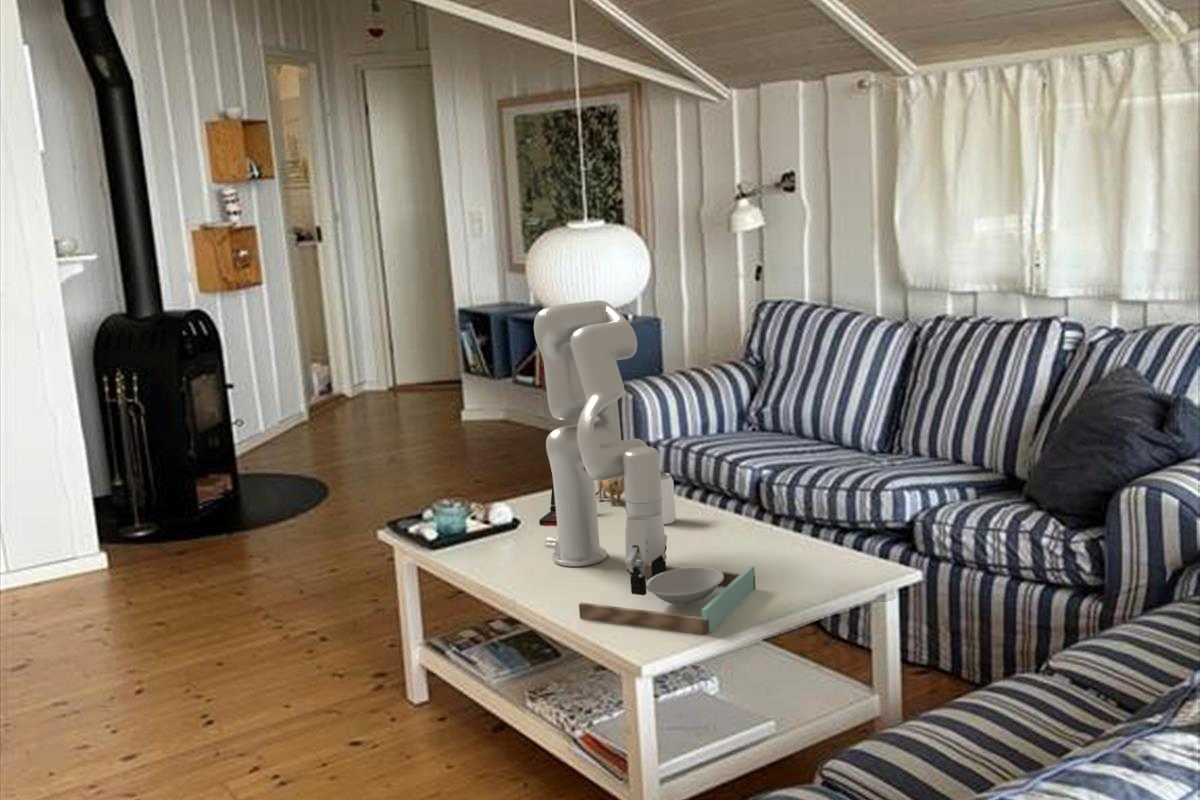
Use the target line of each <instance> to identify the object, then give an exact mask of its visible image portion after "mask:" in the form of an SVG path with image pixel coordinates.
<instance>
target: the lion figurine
mask: <svg viewBox="0 0 1200 800" xmlns="http://www.w3.org/2000/svg"><path fill="white" fill-rule="evenodd" d="M597 486H598V490H597V492H596V496H598V502H600V503H601V502H603V498H607V497H608V495H607V494H606V493H608V494H609V499H610V506H611V507H616V505H617V504H620V505H621V504H623V501H622V500H621V496H622V494H624V492H625V485H624V477H620V478H615V479H610V480H604V481H597ZM615 496H616V501H615ZM616 503H617V504H616Z"/></svg>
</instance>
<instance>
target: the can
mask: <svg viewBox="0 0 1200 800" xmlns="http://www.w3.org/2000/svg"><path fill="white" fill-rule="evenodd" d="M660 474H661V490H662V506H663V514H662V518H663V524H664V526H667V524H668V525H671V524H670V523H672V524H674V523H675V522H676V520H677V519H676V518H677V517H676V514H677V513H676V501H675V500H676V499H675V498H676V497H675V487H674V486H675V485H674V479H673V477H672V474H671V473H670V472H669V473H668V472H660ZM674 521H675V522H674ZM673 522H674V523H673Z"/></svg>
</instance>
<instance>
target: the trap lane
mask: <svg viewBox="0 0 1200 800" xmlns="http://www.w3.org/2000/svg"><path fill="white" fill-rule="evenodd" d="M636 567H637V568H638V569H639V571H640V567H641V566H637V565H636ZM678 568H682V567H679V566H669V565H666V571H669V570H673V569H678ZM721 572H722V573H723V575H724V579H723V581H722V582H721V583H720V584H719V585H718V586H717V587H719V586H722V587H721V588H724V589H722V590H721V591H720V592H719V593H718V594H717V595H716V596H714V598H712V599H711V600H709V602H708V603H707V604H706V605H704V606H703V607H702V608H701V610H700V612H701V613H700V614H701V616H694V615H685V614H677V613H670V612H669V613H668V612H661V611H654V610H653V611H652V610H645V609H636V608H628V607H622V606H612V605H606V604H605V605H604V604H597V603H596V604H595V603H589V602H580V603H578V611H579V619H583V620H592V621H600V622H607V623H614V624H620V625H621V624H623V625H630V626H638V627H644V626H645V628H652V627H653V628H652V629H660V628H661V630H668V631H669V630H670V631H677V632H682V631H683V632H684V633H685V632H686V633H691V632H692V634H698V633H700V634H701V635H706V634H708V633H709V634H710V633H711V632H712V631H713V630H714V629H715V628H717V626H718V625H719V624H720V623H722V622H723V620H724V619H726V618H727V617H726V616H729V615H730V614H731V613H732V612H733V611H734V610H735V609H736V608H737V607H738V606H740V604H742V602H743V601H744V600H745V599H746V598H748V597H749V595H751V594H752V593H753V592H754V591H755V590H756V574H755V573H756V571H755V565H749V566H748V567H747V568H745V570H743V571H742V572H741V573H739V572H727V571H721ZM643 576H645V578H652V570H651V563H650V564H648V565H646V567H645V571H644V575H643ZM709 634H708V635H709Z"/></svg>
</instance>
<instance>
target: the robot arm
mask: <svg viewBox="0 0 1200 800" xmlns="http://www.w3.org/2000/svg"><path fill="white" fill-rule="evenodd" d="M533 333H534V338H535V343H536V344H537V347H538V349H539V352H540V355H541V358H542V361H543V367H544V378H545V385H546V386H545V387H546V394H547V402H548V408H549V409H548V410H549V412H550V414H551V417H552V418H554V419H555V420H559V421H570V420H576V419H577V423H575V424H570V425H564V426H561V427H558V428H556V429H554V430H552V431H551V432H550V433H549V434H548V436H547V437H546V440H545V448H546V454H547V457H548V460H549V464H550V469H551V473H552V481H553V484H554V495H555V505H554V506H556V518H557V526H556V528H557V529H556V530H557V538H555V537H547V538H546V539H545V546H544V547H545V548H546V549H553V550H554V553H553V554H552V560H553V562H554V563H556V564H557V565H560V566H565V567H587V566H590V565H595V564H598V563H600V562H603V561H604V560H606V558H607V557H608V552H607V549H606V548H604V547H603V546H600V531H599V519H598V507H597V495H596V493H597V492H596V484H595V482H594V481H597V482H598V481H604V480H610V479H615V478H620V477H624V485H625V491H624V497H625V513H626V521H625V532H624V533H625V535H624V536H625V542H624V543H625V546H624V547H625V549H624V550H625V565H626V568H627V569H626V570H627V572H628V576H629V577H630V578H629V579H630V589H631V590H630V592H631V594H632V595H637V596H646V594H647V588H646V583H647V582H646V581H647V580H646V578H645V576H643V575H644V571H645V567H646V565H648V564H651V570H652V577H654V576H655V575H657V574H660V573H662V572H665V571H666V566H667V563H666V560H667V553H666V551H667V541H668V535H666V534H665V525H664V524H663V518H662V514H663V506H662V490H661V474H660V473H661V461H660V458H661V457H660V453H659V451H658V450H657V448H655V447H653V446H649V445H647V443H646V442H645V441H644V440H643V439H640V438H629V439H624V440H622V435H621V432H622V431H621V424H620V413H619V402H618V400H620V399H621V398H622V396H623V395H624V394H625V385H624V383H623V379H622V376H621V373H620V369H619V365H618V363H617V362H618V361H620V360H621V361H622V360H628V359H630V358H632V357H634V355H635V354H636V352H637V350H638V338H637V335H636V332H635V331H634V328H633V327H632V324H630V322H629V321H628V320H627V319H626V318H625V317H624V315H623V314H621V313H620V312H619V311H618V310H617V309H616V308H615V307H614V306H612V304H610V303H609V302H607V301H605V300H600V299H599V300H589V301H588V300H587V301H580V302H572V303H564V304H557V305H553V306H548V307H545V308H543V309H541V310H540V311H539V312H538V313H537V314H536V315H535V318H534V321H533ZM636 565H637V566H641V567H640V571H639V569H638V568H637V567H636Z"/></svg>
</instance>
